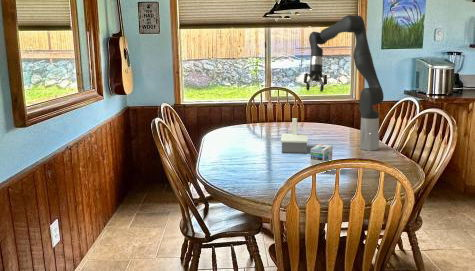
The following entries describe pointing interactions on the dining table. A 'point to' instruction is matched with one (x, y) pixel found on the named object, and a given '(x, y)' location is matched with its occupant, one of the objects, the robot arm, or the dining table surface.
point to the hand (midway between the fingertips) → (314, 91)
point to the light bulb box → (321, 154)
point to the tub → (294, 148)
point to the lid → (294, 135)
